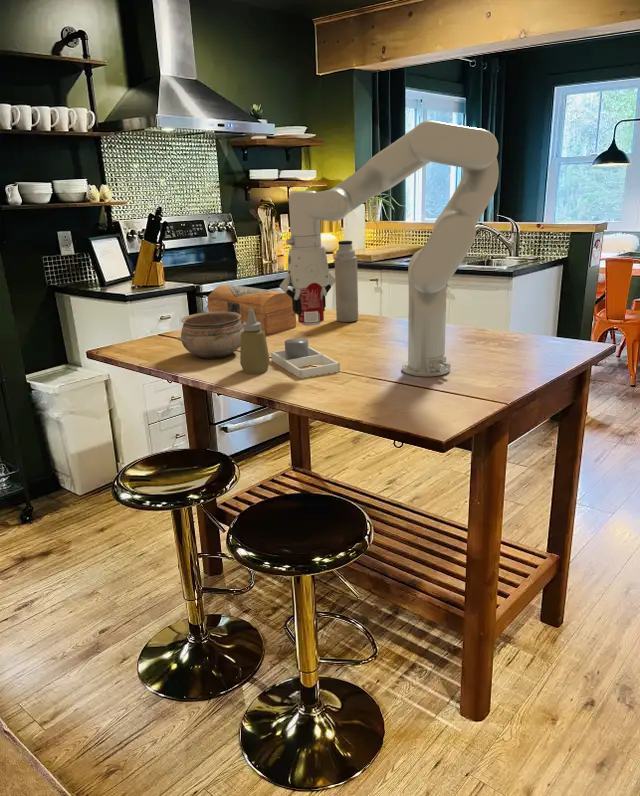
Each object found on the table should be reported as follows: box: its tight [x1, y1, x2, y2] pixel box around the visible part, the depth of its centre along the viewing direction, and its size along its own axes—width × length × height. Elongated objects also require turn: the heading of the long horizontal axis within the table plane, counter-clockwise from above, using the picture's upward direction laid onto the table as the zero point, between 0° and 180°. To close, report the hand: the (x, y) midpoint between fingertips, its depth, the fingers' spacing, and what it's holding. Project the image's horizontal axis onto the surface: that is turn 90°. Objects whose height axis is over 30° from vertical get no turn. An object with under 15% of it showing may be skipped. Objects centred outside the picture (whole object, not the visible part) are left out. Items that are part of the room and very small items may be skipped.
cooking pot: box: [177, 311, 245, 360], centre depth 189 cm, size 25×19×12 cm
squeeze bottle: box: [239, 310, 271, 375], centre depth 170 cm, size 8×8×18 cm
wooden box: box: [207, 284, 297, 336], centre depth 225 cm, size 30×16×14 cm, turn 48°
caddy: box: [270, 337, 341, 379], centre depth 175 cm, size 20×12×7 cm, turn 25°
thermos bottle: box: [334, 240, 359, 323], centre depth 226 cm, size 8×8×28 cm
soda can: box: [297, 283, 325, 327], centre depth 165 cm, size 7×7×12 cm
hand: (309, 311), depth 166 cm, fingers closed on soda can, 6 cm apart
